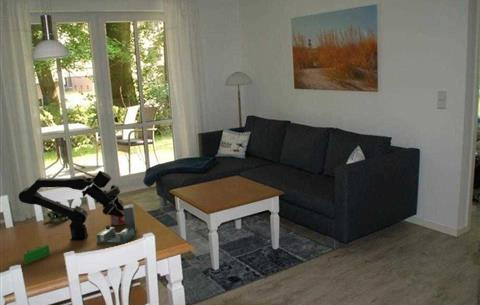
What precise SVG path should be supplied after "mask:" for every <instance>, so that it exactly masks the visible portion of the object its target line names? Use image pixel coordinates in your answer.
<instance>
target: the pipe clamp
mask: <svg viewBox="0 0 480 305" xmlns="http://www.w3.org/2000/svg"><path fill="white" fill-rule="evenodd" d="M49 254H50V255H51V250H50V245H48V244H47V245H44V246H42V247H40V246H36V247H35V248H34V249H31V250H30V249H28V250H26V253H24V254H23V255H22V256H23V262H24V265H28V264H27V263H29V264H31V263H33V262H35V261H34V260H36V261H38V260H40V259H39V258H41V259H43V258H45V257H48V256H50V255H49ZM47 255H48V256H47ZM42 257H43V258H42ZM37 259H38V260H37ZM32 261H33V262H32ZM30 262H31V263H30Z"/></svg>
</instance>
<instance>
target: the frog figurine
mask: <svg viewBox="0 0 480 305" xmlns="http://www.w3.org/2000/svg"><path fill="white" fill-rule="evenodd" d="M56 202H58V203H60V202H59V201H58V200H56ZM44 214H45V215H47V217H48V219H49V221H50V222H49V223H62V222H61V221H63V222H66V221H69V220H70V219H69V218H68V217H66V216H64V215H62V214H59V213H57V212H54V211H52V210H47V211H45V213H44ZM68 219H69V220H68ZM65 220H66V221H65Z"/></svg>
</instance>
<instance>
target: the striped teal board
mask: <svg viewBox="0 0 480 305" xmlns="http://www.w3.org/2000/svg"><path fill="white" fill-rule="evenodd" d="M134 236H136V232H134V228H126V227H125V228H124V229H123V230H121V231H120V232H116V228H115V226H110V225H109V224H107V225H105V229H103V230H101V231H100V232H99V233H97V234H96V244H105V245H109V244H110V245H111V244H112V245H125V244H126V243H127V242H129V241H130V240H131V239H133V238H134ZM124 243H125V244H124Z"/></svg>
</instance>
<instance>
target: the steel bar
mask: <svg viewBox="0 0 480 305" xmlns="http://www.w3.org/2000/svg"><path fill="white" fill-rule="evenodd" d="M123 209H124V217H125V223H124V224H125V228H134V233H137V224H136V216H135V208H134V204H132V203H131V204H125V205H124V208H123Z"/></svg>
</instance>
